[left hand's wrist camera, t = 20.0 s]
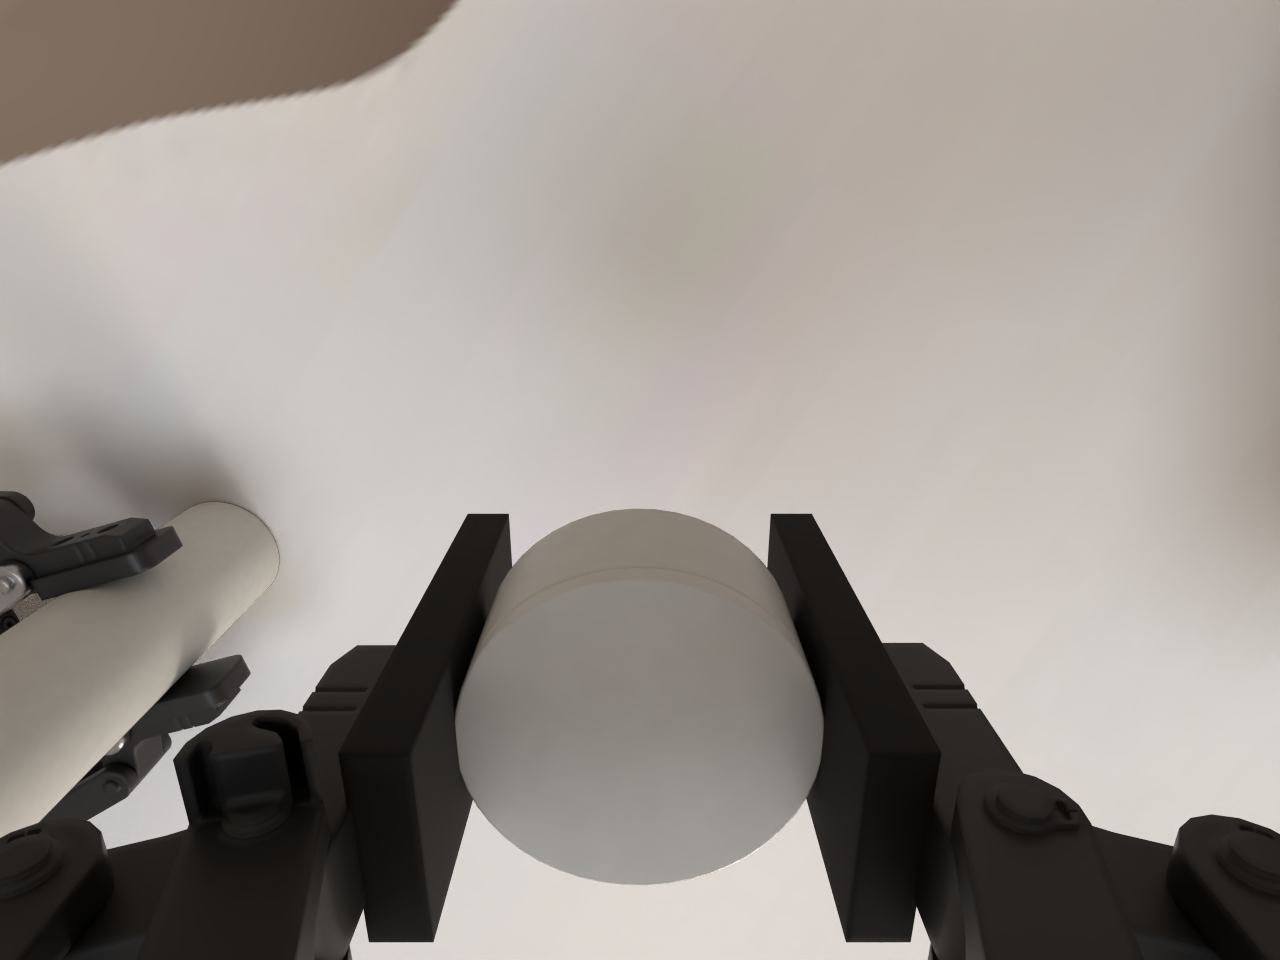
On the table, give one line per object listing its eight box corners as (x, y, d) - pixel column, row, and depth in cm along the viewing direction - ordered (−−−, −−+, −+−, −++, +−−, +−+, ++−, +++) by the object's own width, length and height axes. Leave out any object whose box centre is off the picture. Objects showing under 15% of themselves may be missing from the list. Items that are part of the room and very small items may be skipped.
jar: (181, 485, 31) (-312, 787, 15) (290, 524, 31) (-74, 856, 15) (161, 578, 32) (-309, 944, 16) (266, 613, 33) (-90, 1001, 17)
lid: (570, 809, 13) (556, 928, 11) (429, 582, 12) (382, 667, 10) (835, 711, 13) (875, 817, 11) (721, 456, 11) (741, 519, 9)
